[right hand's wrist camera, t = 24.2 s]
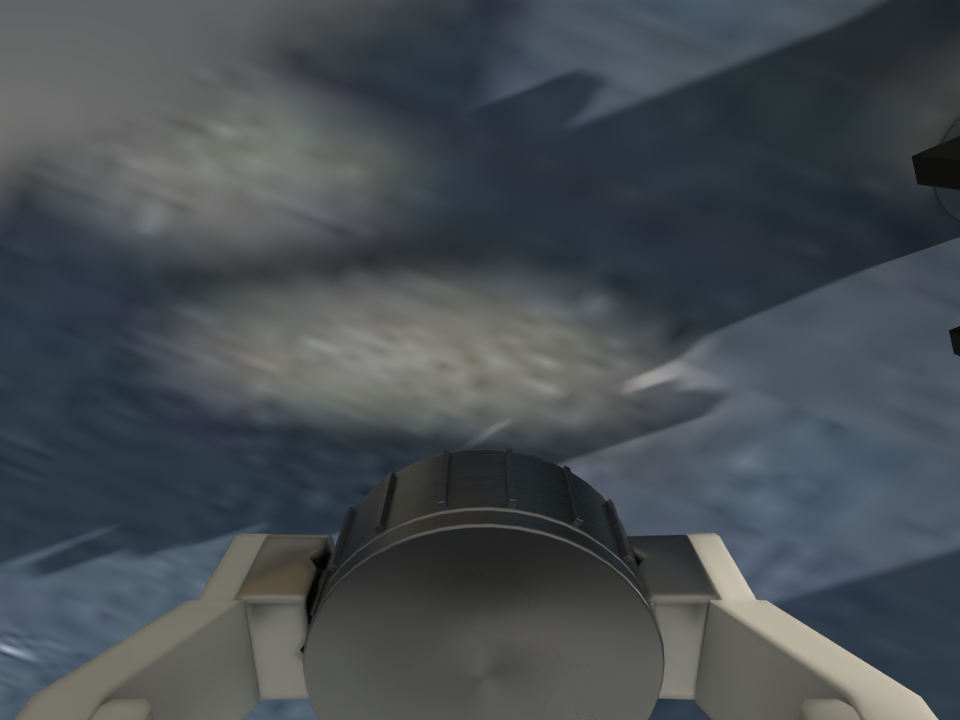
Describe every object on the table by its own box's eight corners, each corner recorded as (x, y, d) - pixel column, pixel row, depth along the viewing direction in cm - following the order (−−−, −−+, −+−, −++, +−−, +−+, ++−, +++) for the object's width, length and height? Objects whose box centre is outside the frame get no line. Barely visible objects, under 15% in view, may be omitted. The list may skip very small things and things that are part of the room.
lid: (286, 478, 10) (242, 561, 8) (613, 412, 10) (645, 484, 8) (376, 714, 12) (357, 826, 10) (656, 667, 11) (690, 775, 9)
